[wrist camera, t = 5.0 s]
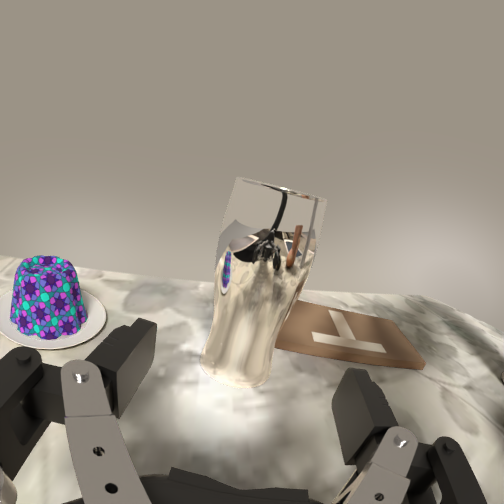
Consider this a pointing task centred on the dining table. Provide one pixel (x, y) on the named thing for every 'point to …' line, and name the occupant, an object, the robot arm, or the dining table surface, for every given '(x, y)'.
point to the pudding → (49, 305)
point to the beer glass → (258, 277)
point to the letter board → (346, 337)
